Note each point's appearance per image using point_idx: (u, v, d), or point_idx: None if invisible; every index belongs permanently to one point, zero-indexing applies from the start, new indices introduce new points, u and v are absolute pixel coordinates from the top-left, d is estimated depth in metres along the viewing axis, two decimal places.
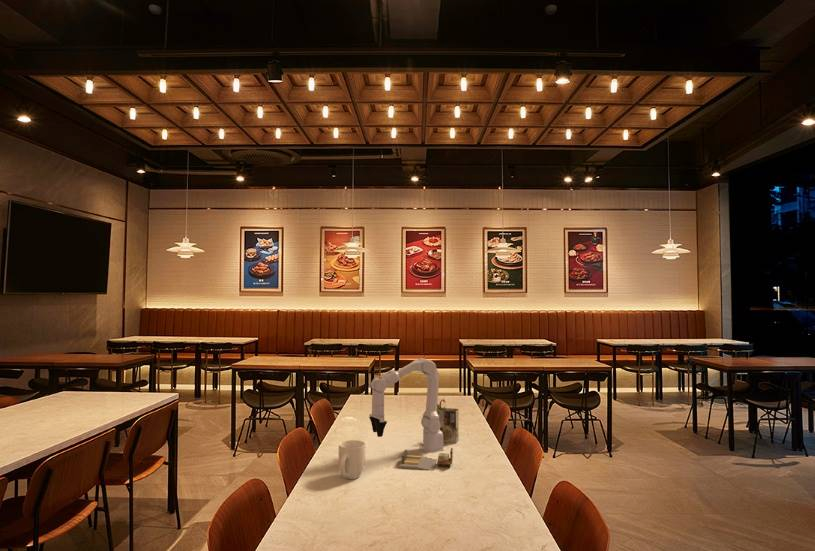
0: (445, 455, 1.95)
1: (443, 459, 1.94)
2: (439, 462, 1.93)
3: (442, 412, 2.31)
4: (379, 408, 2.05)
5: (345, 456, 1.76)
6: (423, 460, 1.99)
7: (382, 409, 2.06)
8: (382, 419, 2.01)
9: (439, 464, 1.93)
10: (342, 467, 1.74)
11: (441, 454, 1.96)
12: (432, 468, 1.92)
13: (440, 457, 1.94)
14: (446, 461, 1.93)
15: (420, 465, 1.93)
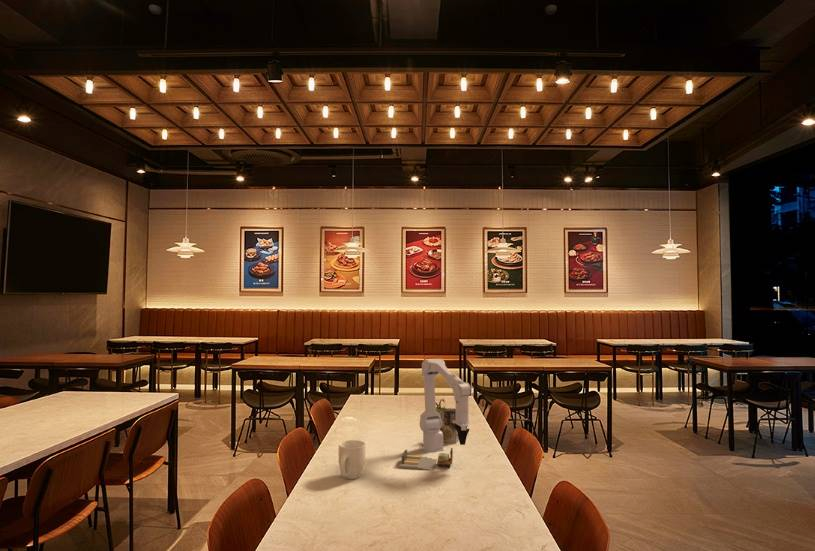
0: (445, 455, 1.95)
1: (443, 459, 1.94)
2: (439, 462, 1.93)
3: (442, 412, 2.31)
4: (462, 415, 1.93)
5: (345, 456, 1.76)
6: (423, 460, 1.99)
7: (465, 417, 1.93)
8: (463, 427, 1.88)
9: (439, 464, 1.93)
10: (342, 467, 1.74)
11: (441, 454, 1.96)
12: (432, 468, 1.92)
13: (440, 457, 1.94)
14: (446, 461, 1.93)
15: (420, 465, 1.93)
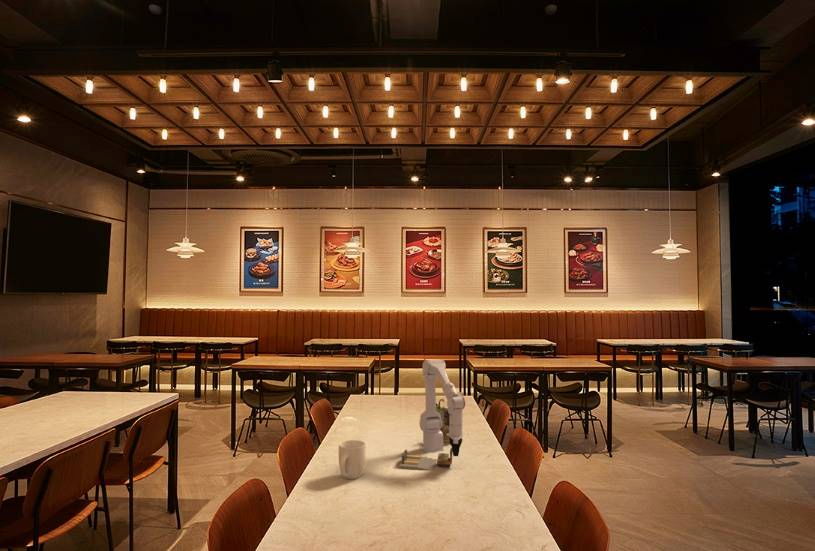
0: (445, 455, 1.95)
1: (443, 459, 1.94)
2: (439, 462, 1.93)
3: (442, 412, 2.31)
4: (455, 428, 1.93)
5: (345, 456, 1.76)
6: (423, 460, 1.99)
7: (459, 430, 1.93)
8: (455, 440, 1.88)
9: (439, 464, 1.93)
10: (342, 467, 1.74)
11: (441, 454, 1.96)
12: (432, 468, 1.92)
13: (440, 457, 1.94)
14: (446, 461, 1.93)
15: (420, 465, 1.93)
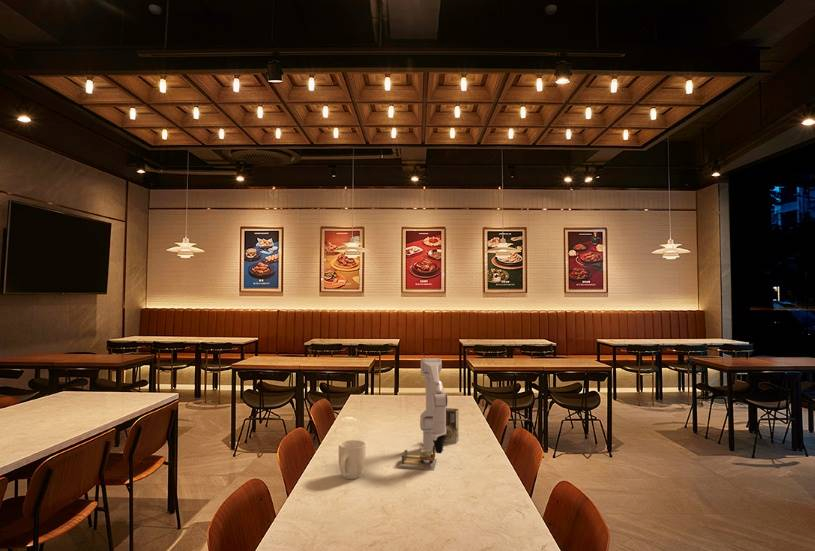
0: (428, 451, 1.96)
1: (425, 455, 1.95)
2: (421, 458, 1.95)
3: None
4: (436, 425, 1.94)
5: (345, 456, 1.76)
6: None
7: (440, 427, 1.94)
8: (433, 437, 1.90)
9: (421, 460, 1.95)
10: (342, 467, 1.74)
11: (424, 450, 1.98)
12: (432, 468, 1.92)
13: (422, 453, 1.95)
14: (428, 457, 1.95)
15: (420, 465, 1.93)
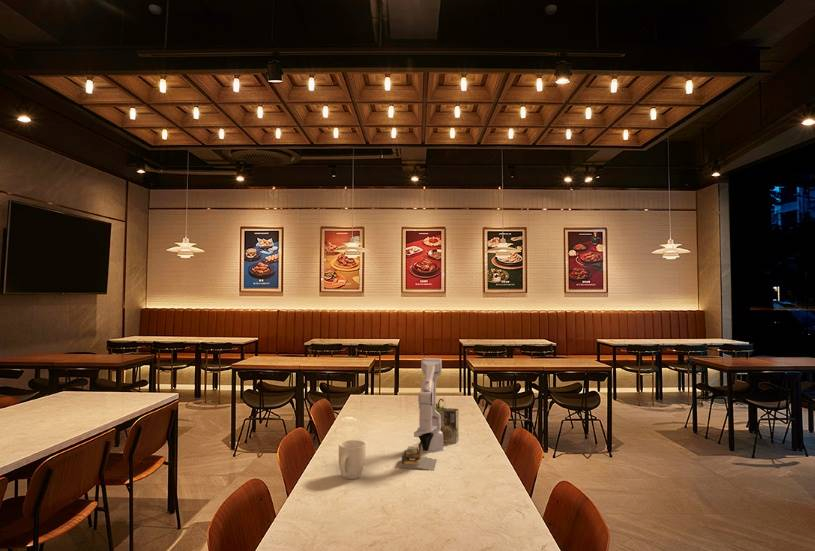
0: (414, 448, 1.97)
1: (411, 452, 1.96)
2: (407, 455, 1.96)
3: (442, 412, 2.31)
4: (421, 423, 1.96)
5: (345, 456, 1.76)
6: (423, 460, 1.99)
7: (424, 425, 1.95)
8: (415, 434, 1.92)
9: (407, 457, 1.96)
10: (342, 467, 1.74)
11: (410, 447, 1.99)
12: (432, 468, 1.92)
13: (409, 450, 1.96)
14: (414, 454, 1.96)
15: (420, 465, 1.93)
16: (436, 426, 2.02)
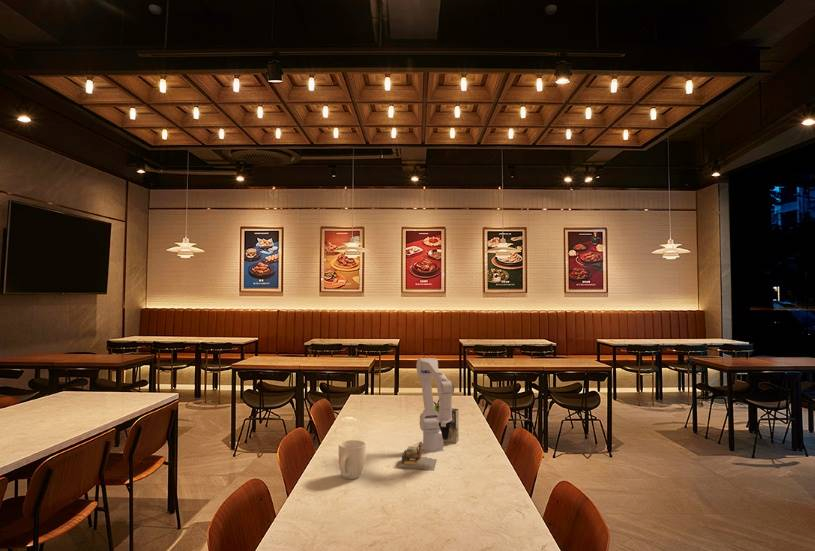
0: (414, 448, 1.97)
1: (411, 452, 1.96)
2: (407, 455, 1.96)
3: None
4: (444, 412, 1.98)
5: (345, 456, 1.76)
6: (423, 460, 1.99)
7: (447, 414, 1.98)
8: (443, 423, 1.94)
9: (407, 457, 1.96)
10: (342, 467, 1.74)
11: (410, 447, 1.99)
12: (432, 468, 1.92)
13: (409, 450, 1.96)
14: (414, 454, 1.96)
15: (420, 465, 1.93)
16: None
